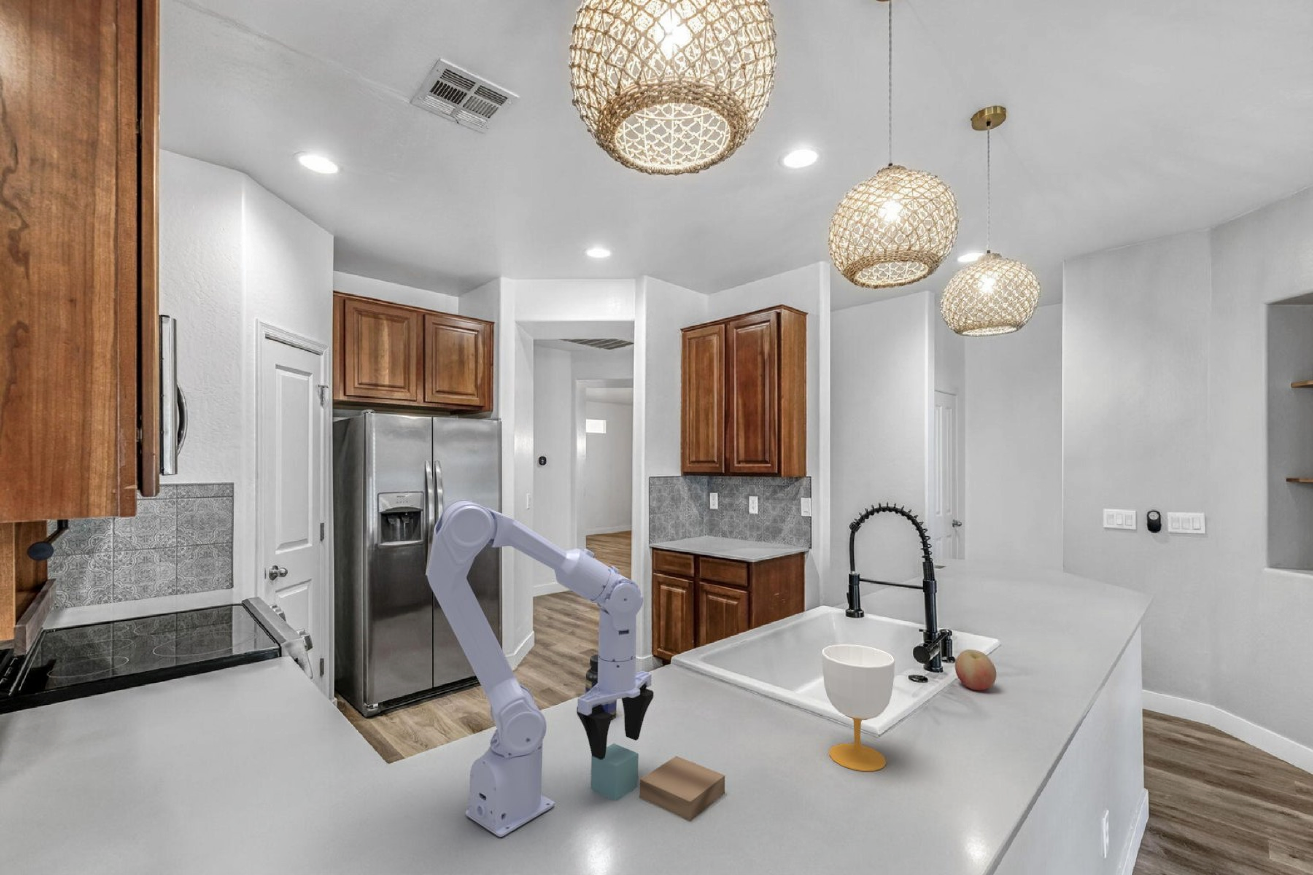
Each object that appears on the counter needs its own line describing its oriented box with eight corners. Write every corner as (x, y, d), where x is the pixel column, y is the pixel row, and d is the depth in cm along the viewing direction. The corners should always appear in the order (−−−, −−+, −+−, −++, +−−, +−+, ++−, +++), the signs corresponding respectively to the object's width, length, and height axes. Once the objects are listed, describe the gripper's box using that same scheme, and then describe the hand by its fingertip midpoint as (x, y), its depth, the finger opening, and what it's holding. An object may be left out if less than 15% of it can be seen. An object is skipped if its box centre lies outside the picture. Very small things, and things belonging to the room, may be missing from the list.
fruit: (959, 692, 129) (959, 655, 129) (952, 679, 137) (952, 644, 137) (1000, 696, 127) (1000, 659, 127) (990, 683, 134) (990, 648, 135)
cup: (813, 764, 97) (814, 658, 97) (828, 735, 107) (829, 640, 108) (890, 783, 91) (890, 671, 92) (898, 751, 102) (898, 650, 102)
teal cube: (615, 801, 85) (616, 766, 85) (590, 789, 88) (591, 755, 88) (637, 787, 89) (638, 753, 89) (613, 775, 92) (613, 743, 92)
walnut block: (689, 824, 81) (690, 801, 81) (639, 800, 86) (639, 778, 86) (724, 795, 88) (724, 775, 88) (675, 775, 93) (676, 755, 93)
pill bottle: (578, 717, 112) (579, 659, 113) (596, 706, 118) (597, 650, 118) (605, 725, 110) (606, 664, 110) (622, 713, 115) (623, 655, 115)
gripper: (603, 674, 81) (601, 775, 81) (667, 649, 93) (665, 737, 92) (567, 663, 86) (566, 759, 85) (632, 640, 97) (631, 724, 97)
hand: (615, 747), depth 89 cm, fingers open, 7 cm apart
